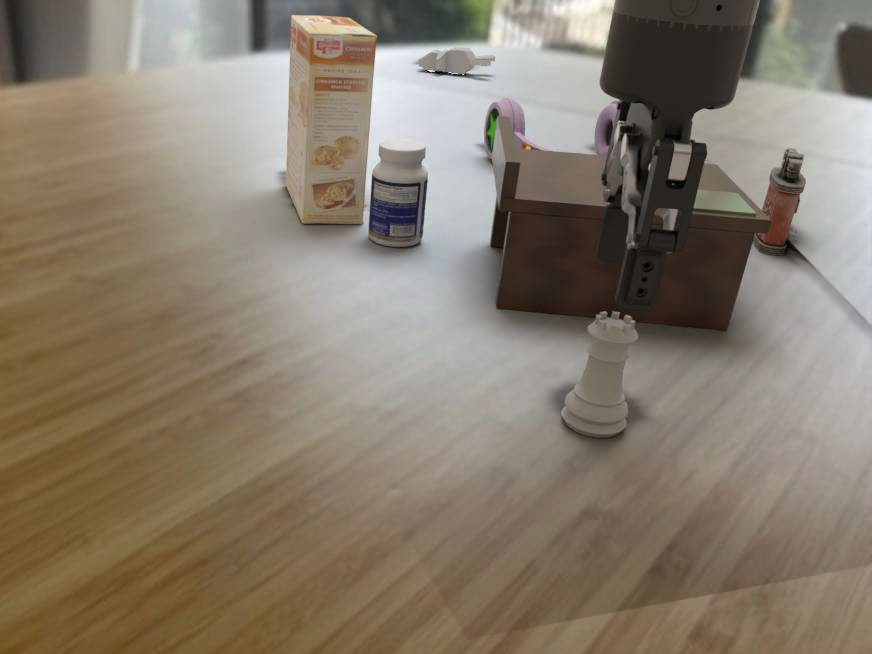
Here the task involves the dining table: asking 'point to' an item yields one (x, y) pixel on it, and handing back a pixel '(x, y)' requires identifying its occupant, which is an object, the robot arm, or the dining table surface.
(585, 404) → the rook chess piece
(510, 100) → the headphones
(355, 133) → the coffeecake box
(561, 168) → the brown wooden desk
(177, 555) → the dining table surface
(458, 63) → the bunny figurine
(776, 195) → the lighter
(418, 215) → the pill bottle
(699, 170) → the robot arm
